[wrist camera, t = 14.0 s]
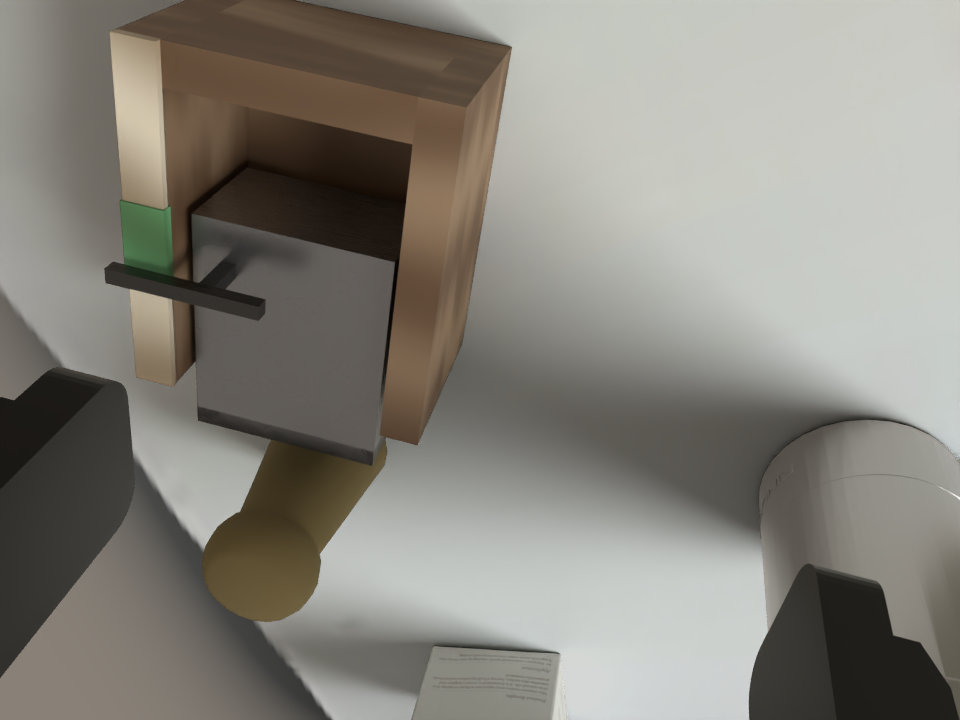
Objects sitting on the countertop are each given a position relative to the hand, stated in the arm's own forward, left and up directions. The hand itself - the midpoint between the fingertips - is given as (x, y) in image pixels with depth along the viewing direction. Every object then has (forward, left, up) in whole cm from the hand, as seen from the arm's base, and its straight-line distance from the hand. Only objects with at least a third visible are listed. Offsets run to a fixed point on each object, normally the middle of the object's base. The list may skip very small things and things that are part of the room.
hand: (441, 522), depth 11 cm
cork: (+10, +24, -28) cm, 38 cm away
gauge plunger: (+11, +14, -26) cm, 31 cm away
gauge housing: (+10, +9, -28) cm, 31 cm away
